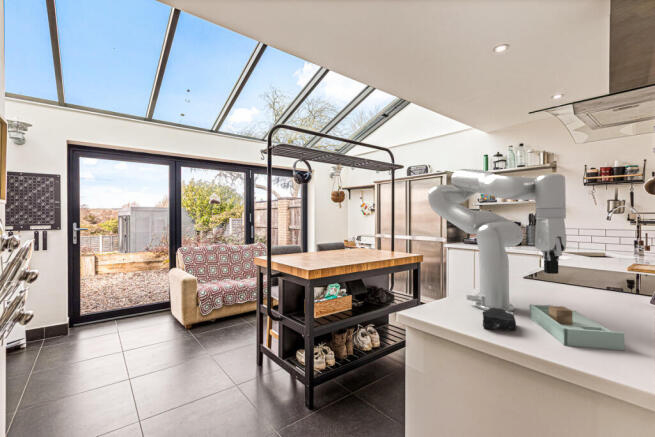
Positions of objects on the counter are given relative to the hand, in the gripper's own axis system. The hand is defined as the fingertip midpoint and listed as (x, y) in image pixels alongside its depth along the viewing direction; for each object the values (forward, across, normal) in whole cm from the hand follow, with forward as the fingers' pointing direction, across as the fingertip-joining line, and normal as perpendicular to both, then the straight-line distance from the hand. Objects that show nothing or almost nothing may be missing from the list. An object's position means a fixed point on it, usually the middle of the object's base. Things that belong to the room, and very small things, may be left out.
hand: (551, 273), depth 91 cm
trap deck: (+16, +5, +3) cm, 17 cm away
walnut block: (+13, +6, 0) cm, 15 cm away
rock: (+16, +7, -16) cm, 24 cm away
